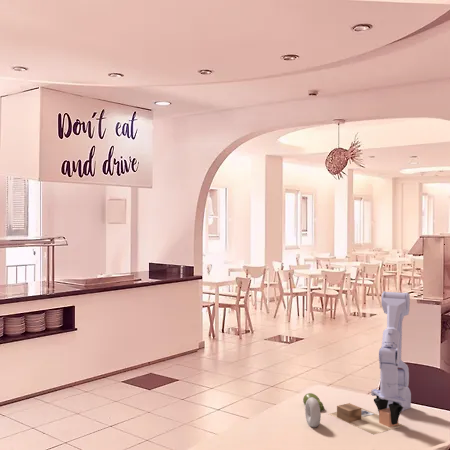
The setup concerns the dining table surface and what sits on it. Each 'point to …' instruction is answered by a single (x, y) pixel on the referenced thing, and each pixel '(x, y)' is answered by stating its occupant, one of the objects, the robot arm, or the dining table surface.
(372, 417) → the build board
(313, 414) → the donut
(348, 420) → the base block
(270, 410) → the dining table surface
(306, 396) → the pear
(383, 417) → the top block
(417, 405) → the dining table surface
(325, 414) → the dining table surface
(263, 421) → the dining table surface
